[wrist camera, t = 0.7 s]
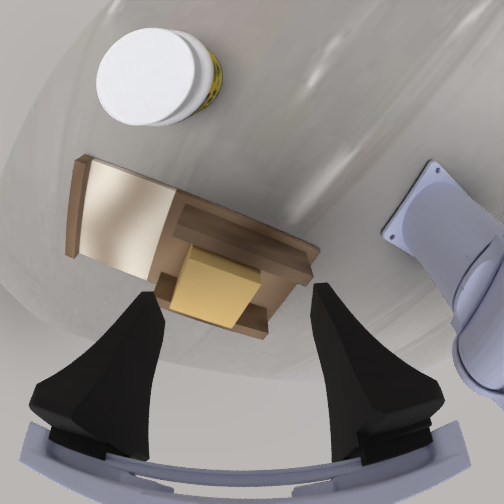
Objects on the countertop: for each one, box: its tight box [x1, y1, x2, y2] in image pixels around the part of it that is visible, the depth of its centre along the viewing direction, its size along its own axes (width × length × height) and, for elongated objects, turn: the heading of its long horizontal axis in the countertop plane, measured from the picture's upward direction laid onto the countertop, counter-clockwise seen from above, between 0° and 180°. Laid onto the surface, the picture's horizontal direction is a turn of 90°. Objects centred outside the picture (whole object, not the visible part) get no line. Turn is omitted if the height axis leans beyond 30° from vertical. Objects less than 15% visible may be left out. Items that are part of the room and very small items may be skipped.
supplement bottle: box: [96, 28, 223, 127], centre depth 11 cm, size 5×5×8 cm
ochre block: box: [170, 244, 261, 329], centre depth 20 cm, size 5×5×4 cm
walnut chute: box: [65, 155, 320, 340], centre depth 20 cm, size 20×9×4 cm, turn 64°
